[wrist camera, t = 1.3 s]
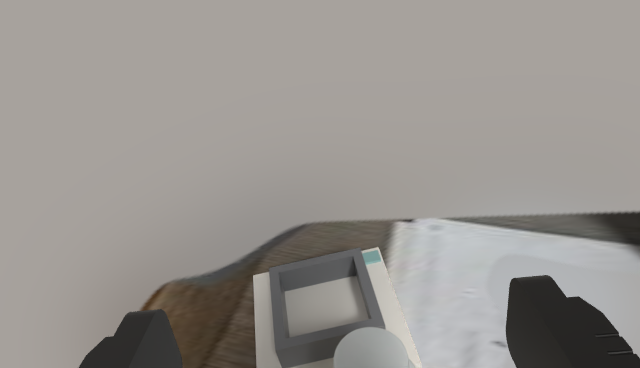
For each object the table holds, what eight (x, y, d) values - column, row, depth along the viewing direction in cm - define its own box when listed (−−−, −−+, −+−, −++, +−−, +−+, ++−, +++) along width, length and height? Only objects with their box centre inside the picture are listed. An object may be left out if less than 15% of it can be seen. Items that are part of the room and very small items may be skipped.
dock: (379, 254, 42) (376, 227, 40) (421, 369, 32) (420, 342, 30) (255, 282, 41) (246, 256, 39) (261, 407, 32) (248, 382, 30)
